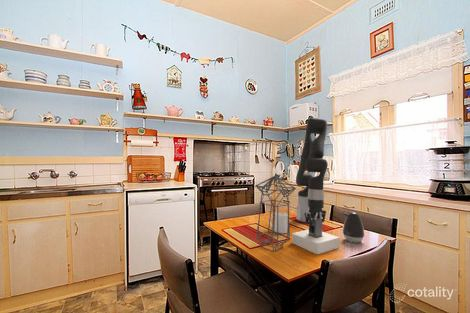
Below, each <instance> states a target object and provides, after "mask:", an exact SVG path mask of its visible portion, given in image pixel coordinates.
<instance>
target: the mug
mask: <svg viewBox="0 0 470 313" xmlns="http://www.w3.org/2000/svg"><path fill="white" fill-rule="evenodd" d="M269 219H270V216H269V218H268V220H267V223H268V224H269ZM271 220H273V214H271V219H270V227H271V228H272V223H271ZM273 226H274V225H273ZM287 227H288V212H279V211H278V234H281V235H282V234H283V235H285V234H287ZM274 233H277V212H275V227H274Z"/></svg>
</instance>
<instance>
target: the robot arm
mask: <svg viewBox="0 0 470 313" xmlns="http://www.w3.org/2000/svg"><path fill="white" fill-rule="evenodd" d="M327 130H328V121H327V119H325V118H318V117H309V118H308V120H307V123H306V129H305V135H304V136H305V137H304V141H303V147H302V150H301V155H300V162H299V166H298V170H297V173H296V177H295V184H296V185H297V186H299V187H305V188H303V189H301V190H299V191H298V192H297V206H296V220H297V221H298V222H302V223H305V224H306V225H308V230H309V231H310V233H314V221H315V220H316V218H319V219H322V223H325V219H326V215H327V211H326V210H325V209H324V205H325V204H324V202H325V197H324V196H325V195H324V194H325V193H324V182H325V181H324V180H325V176H326V173H327V170H328V165H329V164H328V160H327V159H325V158H324V154H325V141H326V135H327ZM312 134H313V135H314V134H316V135H318V136H316V138H314V140H313V138H312ZM306 171H307V172H306ZM312 173H319V174H317V176H313V174H312ZM312 218H314V219H312ZM311 220H312V222H311Z"/></svg>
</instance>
